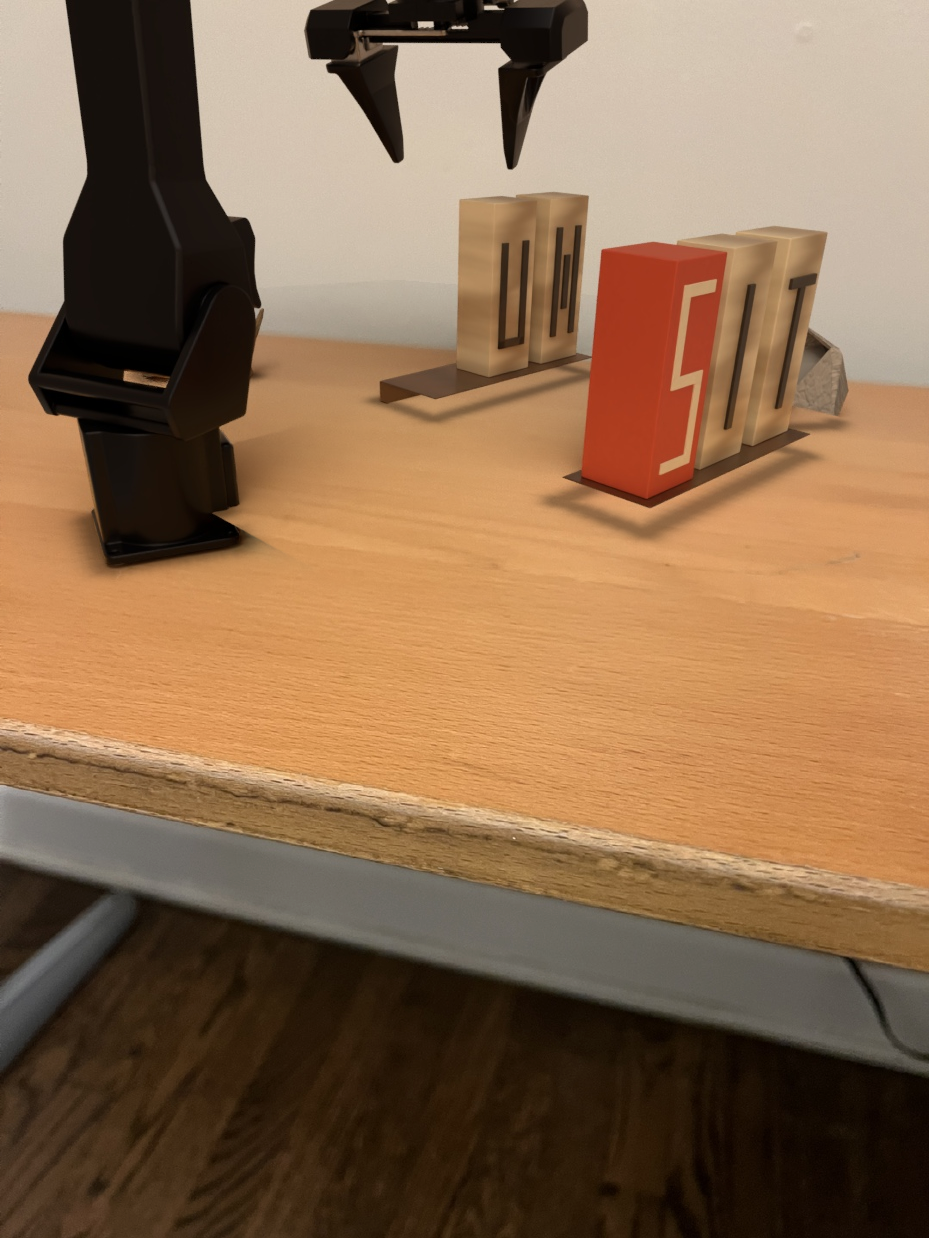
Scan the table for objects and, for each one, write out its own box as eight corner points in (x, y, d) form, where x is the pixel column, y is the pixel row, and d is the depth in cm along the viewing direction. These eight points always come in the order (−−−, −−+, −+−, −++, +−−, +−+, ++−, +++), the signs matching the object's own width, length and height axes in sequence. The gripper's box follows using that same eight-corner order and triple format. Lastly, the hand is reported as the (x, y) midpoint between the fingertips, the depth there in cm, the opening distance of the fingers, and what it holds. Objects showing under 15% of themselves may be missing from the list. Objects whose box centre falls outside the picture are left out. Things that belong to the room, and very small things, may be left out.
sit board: (646, 534, 48) (682, 264, 42) (559, 501, 52) (579, 248, 45) (806, 455, 60) (855, 233, 53) (725, 433, 63) (761, 222, 56)
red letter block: (648, 500, 49) (679, 260, 43) (580, 477, 51) (600, 249, 45) (694, 479, 51) (730, 252, 45) (627, 458, 54) (652, 241, 48)
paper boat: (868, 427, 61) (740, 383, 61) (818, 479, 67) (701, 440, 67) (878, 301, 67) (760, 260, 66) (831, 359, 72) (722, 322, 72)
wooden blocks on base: (435, 419, 65) (436, 211, 58) (379, 400, 68) (374, 203, 61) (592, 374, 76) (608, 196, 69) (537, 360, 79) (547, 190, 73)
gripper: (617, -130, 58) (610, 136, 69) (362, -114, 65) (392, 127, 75) (557, -106, 51) (560, 187, 62) (278, -90, 58) (324, 172, 68)
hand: (454, 164), depth 67 cm, fingers open, 9 cm apart
